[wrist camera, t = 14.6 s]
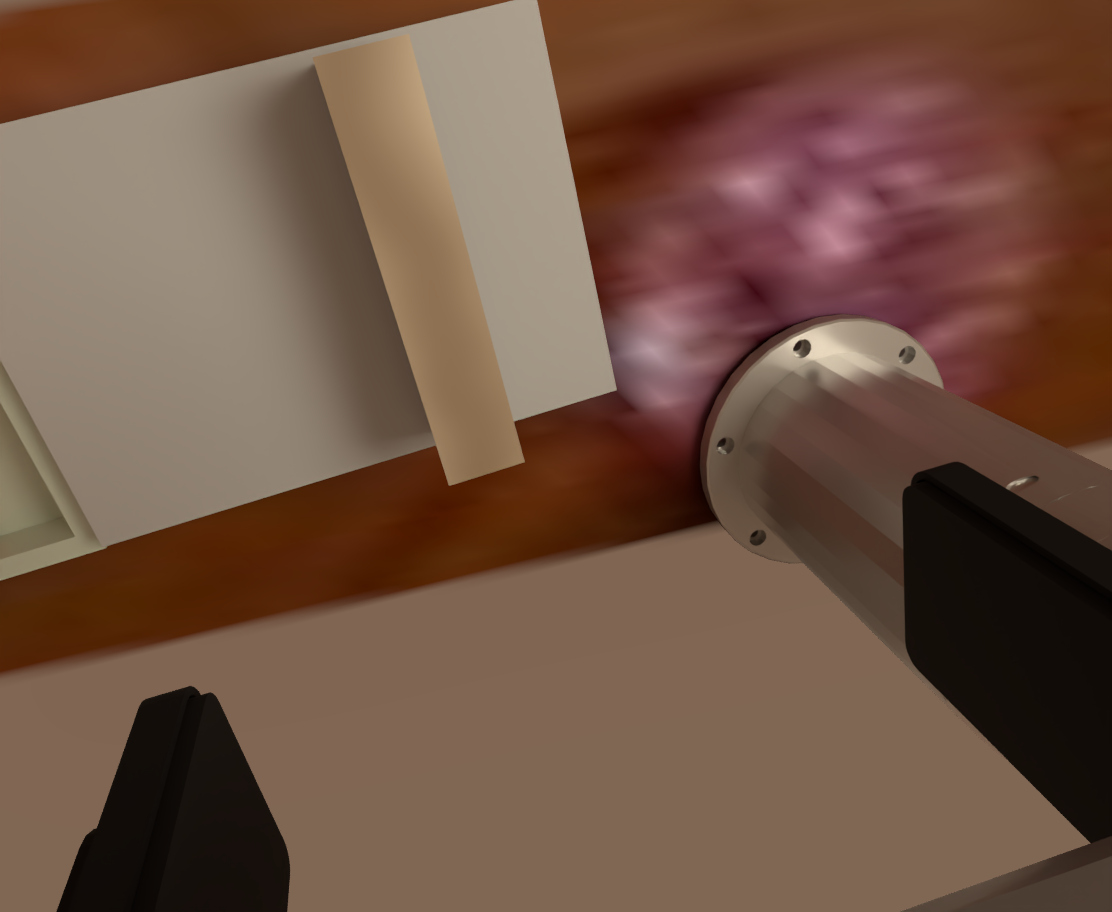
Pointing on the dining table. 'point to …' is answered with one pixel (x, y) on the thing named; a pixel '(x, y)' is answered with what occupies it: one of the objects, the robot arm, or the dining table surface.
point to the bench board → (274, 274)
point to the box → (34, 496)
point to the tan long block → (421, 251)
